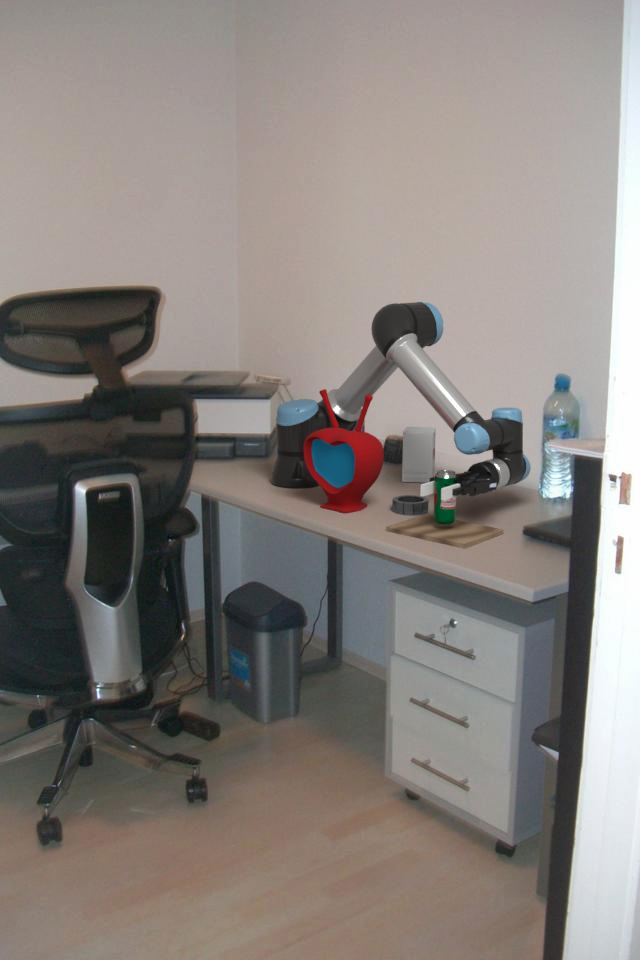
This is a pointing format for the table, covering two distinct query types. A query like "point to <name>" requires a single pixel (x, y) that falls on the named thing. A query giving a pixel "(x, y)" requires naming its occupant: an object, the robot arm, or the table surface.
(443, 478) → the soda can
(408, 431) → the supplement box
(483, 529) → the walnut board
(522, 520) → the table surface
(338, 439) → the novelty television
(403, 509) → the sleeve
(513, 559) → the table surface
